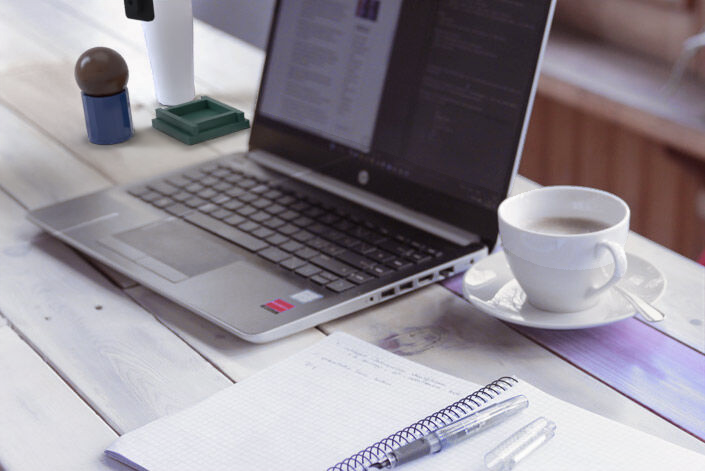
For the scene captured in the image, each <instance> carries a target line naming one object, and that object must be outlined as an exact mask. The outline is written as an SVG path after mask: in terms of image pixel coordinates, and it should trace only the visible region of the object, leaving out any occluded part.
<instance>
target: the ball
mask: <svg viewBox="0 0 705 471" xmlns="http://www.w3.org/2000/svg"><path fill="white" fill-rule="evenodd" d="M73 73H74V80H75V82H76V84H77V86H78V88H79V89H80V91H82V92H83V93H85V94H86V95H87V96H92V97H106V96H112V95H116V94H119V93H121V92H123V90H124V89H125V88H126V86H127V87H128V84H129V80H130V70H129V66H128V63H127V61H126V59H125V58H124V57H123V55H122V54H120V53H119V52H118V51H116V50H115V49H113V48H112V47H107V46H95V47H91V48H89V49H86V50H85V51H84V52H83V53H81V55H80V56H78V58H77V60H76V62H75V65H74V72H73Z"/></svg>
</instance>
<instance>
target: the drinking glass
mask: <svg viewBox="0 0 705 471" xmlns="http://www.w3.org/2000/svg"><path fill="white" fill-rule="evenodd" d="M153 4H154V14H155V18H154V20H153V21H150V22H146V21H140V24H141V28H142V33H143V38H144V43H145V48H146V51H147V52H146V53H147V57H148V61H149V67H150V71H151V76H152V81H153V86H154V93H155V99H156V101H157V102H158V103H159V104H161V105H164V106H169V107H172V106H176V105H179V104H183V103H187V102H190V101H194V100H195V98H196V86H195V85H196V84H195V50H194V48H195V46H194V43H195V42H194V40H195V39H194V38H195V35H194V34H195V32H194V13H193V2H192V0H153Z"/></svg>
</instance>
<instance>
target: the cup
mask: <svg viewBox="0 0 705 471" xmlns="http://www.w3.org/2000/svg"><path fill="white" fill-rule="evenodd" d="M80 98H81V102H82V103H81V104H82V109H83V115H84V116H83V117H84V122H85V128H86V134H87V135H86V136H87V140H88V141H89V142H90V143H92V144H95V145H103V146H105V145H115V144H116V145H117V144H121V143H124V142H127V141H129V140H130V139H132V138H133V137H134V135H135V129H134V122H133V121H134V120H133V114H132V107H131V100H130V93H129V87H128V85H127V86H126V88H125V89H124V90H123V92H121V93H119V94H116V95H112V96H106V97H92V96H87V95H86V94H85V93H83V92H82V90H80Z"/></svg>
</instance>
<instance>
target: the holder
mask: <svg viewBox="0 0 705 471" xmlns="http://www.w3.org/2000/svg"><path fill="white" fill-rule="evenodd" d="M154 113H155V118H152V119H151V127H153V128H155V129H157V130H159V131H161V132H163V133H165V134H166V135H168V136H171V137H173V138H174V139H177V140H178V141H181V142H182V143H184V144H185V145H188V146H191V145H194V144H198V143H201V142H205V141H208V140H212V139H215V138H219V137H221V136H224V135H228V134H231V133H235V132H238V131H241V130H245V129H248V128H251V121H250V119H249V118H247V117H245V111H242V110H240V109H238V108H236V107H233V106H231V105H229V104H227V103H224V102H222V101H220V100H217V99H215V98H213V97H210V96H208V95H201V96H200V98H199V99H194V100H193V101H190V102H187V103H183V104H179V105H176V106H169V107H165V108H162V107H157V108H154Z"/></svg>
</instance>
